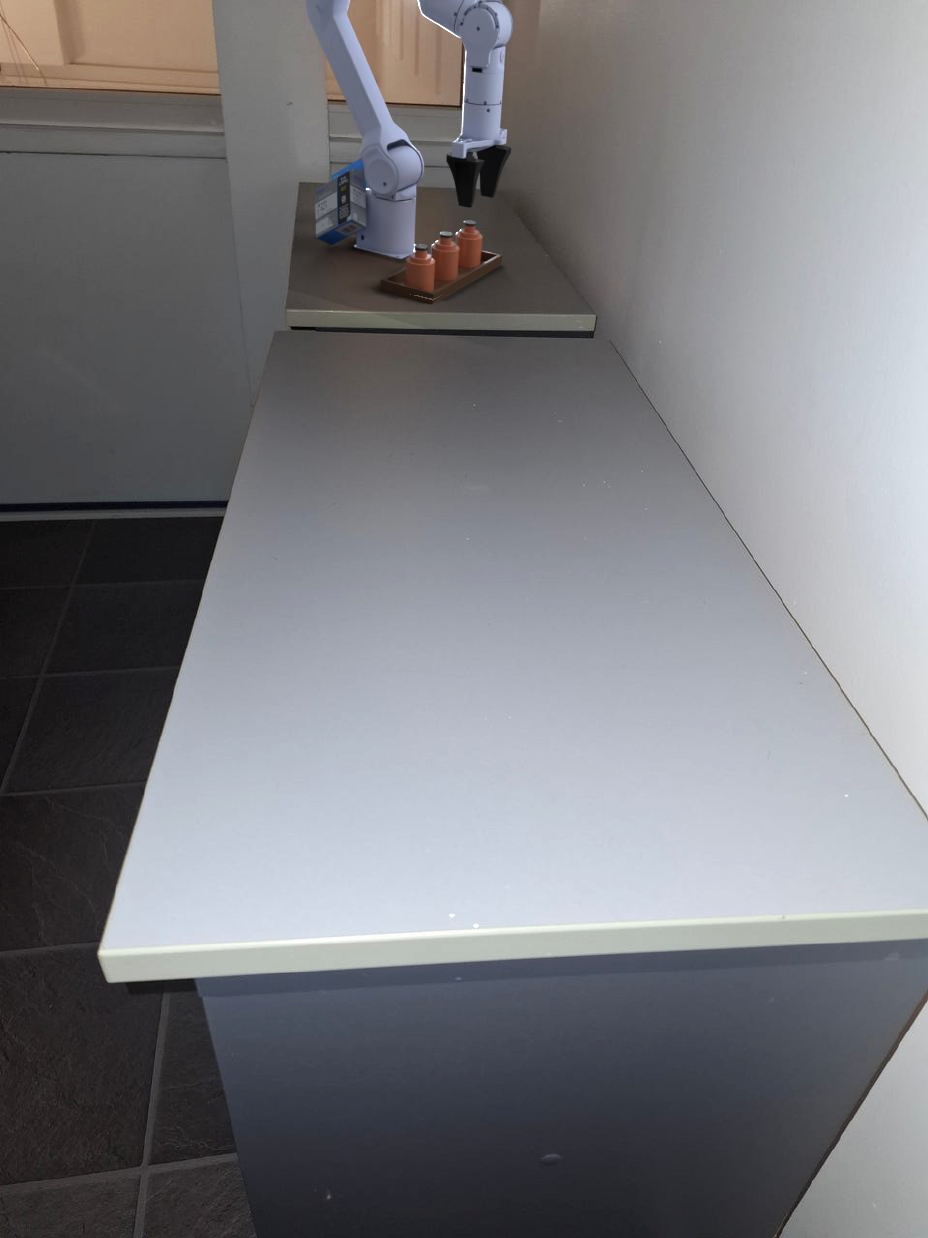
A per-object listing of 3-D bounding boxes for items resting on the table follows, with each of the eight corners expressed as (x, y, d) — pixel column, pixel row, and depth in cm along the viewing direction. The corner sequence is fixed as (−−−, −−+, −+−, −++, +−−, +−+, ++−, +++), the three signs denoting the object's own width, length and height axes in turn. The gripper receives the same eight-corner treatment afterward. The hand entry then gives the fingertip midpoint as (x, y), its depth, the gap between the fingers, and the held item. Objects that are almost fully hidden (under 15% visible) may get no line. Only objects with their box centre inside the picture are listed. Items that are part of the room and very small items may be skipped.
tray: (432, 307, 127) (433, 293, 126) (380, 292, 130) (380, 279, 129) (501, 267, 143) (502, 254, 142) (453, 254, 146) (453, 242, 145)
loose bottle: (399, 290, 130) (400, 246, 126) (414, 282, 133) (415, 239, 129) (424, 297, 128) (426, 252, 124) (438, 289, 132) (441, 245, 127)
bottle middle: (424, 276, 136) (426, 233, 131) (438, 269, 139) (440, 227, 134) (449, 283, 134) (451, 239, 130) (462, 275, 137) (465, 233, 133)
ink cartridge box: (314, 238, 142) (312, 166, 143) (332, 246, 145) (330, 175, 146) (350, 219, 136) (348, 144, 137) (368, 228, 139) (366, 154, 140)
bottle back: (449, 263, 141) (451, 222, 137) (461, 257, 144) (464, 216, 140) (472, 269, 140) (476, 227, 135) (484, 262, 143) (488, 221, 139)
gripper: (484, 111, 120) (478, 215, 128) (527, 99, 130) (519, 196, 139) (440, 104, 122) (437, 207, 131) (486, 93, 132) (480, 188, 141)
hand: (476, 201), depth 135 cm, fingers open, 7 cm apart
